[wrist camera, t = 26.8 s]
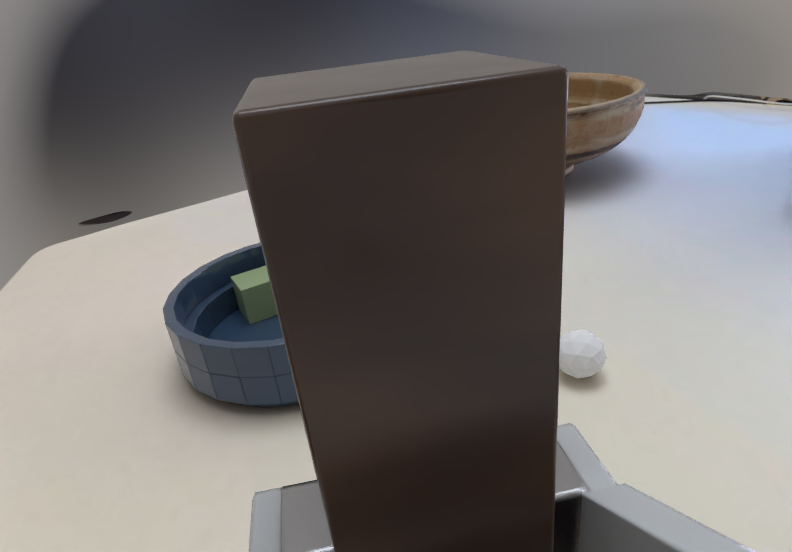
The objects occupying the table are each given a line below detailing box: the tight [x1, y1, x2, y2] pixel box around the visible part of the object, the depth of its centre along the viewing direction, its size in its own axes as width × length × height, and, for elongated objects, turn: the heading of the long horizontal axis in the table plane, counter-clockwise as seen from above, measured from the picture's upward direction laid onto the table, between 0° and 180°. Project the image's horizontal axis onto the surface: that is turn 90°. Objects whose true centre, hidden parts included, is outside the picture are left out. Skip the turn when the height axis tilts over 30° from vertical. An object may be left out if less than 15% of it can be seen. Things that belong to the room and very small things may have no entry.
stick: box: [232, 51, 568, 552], centre depth 10 cm, size 3×3×16 cm
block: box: [230, 266, 278, 324], centre depth 42 cm, size 3×3×3 cm
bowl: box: [163, 243, 299, 407], centre depth 39 cm, size 16×16×5 cm
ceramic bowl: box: [565, 73, 648, 175], centre depth 69 cm, size 37×29×10 cm
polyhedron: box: [559, 329, 606, 378], centre depth 33 cm, size 3×3×3 cm
